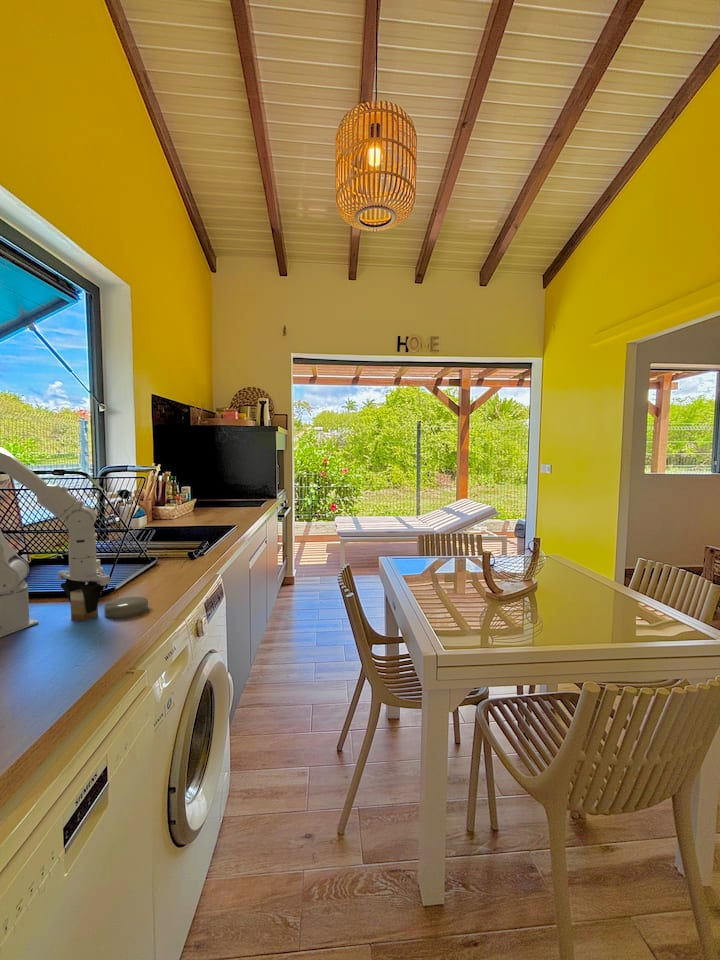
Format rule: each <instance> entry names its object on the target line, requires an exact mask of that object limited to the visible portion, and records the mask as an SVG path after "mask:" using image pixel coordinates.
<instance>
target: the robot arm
mask: <svg viewBox="0 0 720 960" xmlns="http://www.w3.org/2000/svg"><path fill="white" fill-rule="evenodd" d="M0 472H1V473H2V472H3V473H4V474H6V475H7V476H8V477H11V478H12V479H13V480H15V481H16V482H18V483H19V484H21V485H22V486H23V487H24V488H26V489H28V490H29V491H31V492H32V493H34V495H36V503H37V504H39V505H40V506H41V507H42V508H44V509H46V510H47V512H49V513H51V514H52V515H53V516H55V517H56V518H57V519H59V520H60V521H64V526H65V528H66V529H67V530H68V539H67V542H68V543H67V545H68V549H67V550H68V568H69V569H64V570H59V571H57V573H56V575H57V580H61V581H62V580H65V582H63V583H62V582H61V584H60V588H61V589H62V590H63V591H64V592H65V594H66V596H67V598H68V600H69V604H70V605H71V599H70V592H71V591H74V590H77V589H81V590H82V592H83V595H84V598H85V604H86V610H87V613H91V612H93V611H96V609H97V605H98V603H99V600H100V597H101V595H102V594H101V593H102V591H103V589H104V590H105V588H106V585H110V584H111V575H108V574H107V575H106V574H104V573H103V574H102V573H100V570H97V563H96V559H97V540H96V538H97V537H96V535H95V534H96V529H95V523H96V521H97V520H96V519H97V515H96V512H95V510H94V509H92V507H91V506H89V505H87V504H86V505H85V502H84V501H82V500H80V501H79V500H78V499H77V498H76V497H75V496H73V494H70V493H69V492H68V491H69V488H67V487H66V486H65V485H63V486H60V485H59V484H48V483H47V482H46V481H45V480H44V479H42V478H41V477H40V476H39V475H37V474H36V473H35V472H34V471H33V470H32V469H30V468H29V467H28V466H26V465H25V464H24V463H23V462H21V460H20V459H18V458H17V457H16V456H14V455H13V454H12V453H11V452H9V451H8V450H7V449H6V448H4V447H2V446H0ZM29 572H30V566H29V563H28V562H27V561H26V560H25V559H23V558H22V557H20V556H19V555H18V553H17V551H16V550H15V549H14V548H13V547H11V546H10V545H9V543H8V542H7V540H6V537H5V535H4V534H3V531H2V530H1V529H0V638H2V637H5V636H7V635H11V634H14V633H16V632H19V631H21V630H23V629H27V628H28V627H31V626H33V625H37V624H39V623H40V621H39V620H37V619H31V618H30V604H29V603H30V602H29V585H28V583H27V582H26V580H25V579H26V578H27V576H28V575H29ZM86 582H88V584H86V585H85V583H86ZM98 606H99V605H98Z"/></svg>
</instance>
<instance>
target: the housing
mask: <svg viewBox="0 0 720 960" xmlns="http://www.w3.org/2000/svg"><path fill="white" fill-rule="evenodd" d="M70 599H71V604H70V618H71V619H70V620H71V621H76V622H81V623H82V622H83V623H85V622H87V621H89V620H92V619H94V618H98V617H99V605H97V609H96V611H93V612H91V613H87V610H86V604H85V598H84V595H83V592H82V590H81V589H77V590H74V591H71V592H70Z"/></svg>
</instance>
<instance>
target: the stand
mask: <svg viewBox="0 0 720 960" xmlns="http://www.w3.org/2000/svg"><path fill="white" fill-rule="evenodd" d="M103 608H104V609H103V610H104V611H103V612H104V613H103V614H104V617H106V618H109V619H127V618H133V617H137V616H139V615H142V614H144V613H146V612H147V611H148V610H149V599H147V598H146V597H143V596H128V597H121V598H116V599H113V600H110V601H107V602H106V603H105V605H104V606H103ZM145 611H146V612H145Z"/></svg>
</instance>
